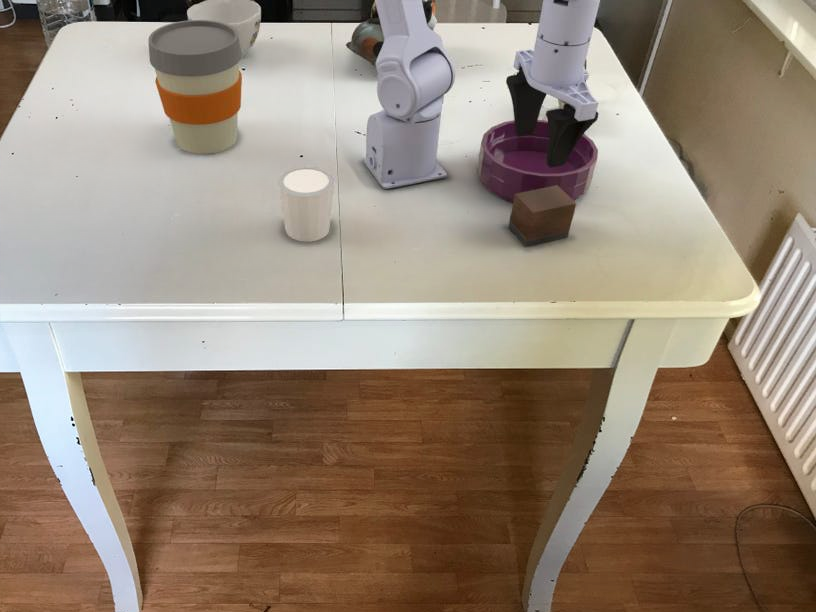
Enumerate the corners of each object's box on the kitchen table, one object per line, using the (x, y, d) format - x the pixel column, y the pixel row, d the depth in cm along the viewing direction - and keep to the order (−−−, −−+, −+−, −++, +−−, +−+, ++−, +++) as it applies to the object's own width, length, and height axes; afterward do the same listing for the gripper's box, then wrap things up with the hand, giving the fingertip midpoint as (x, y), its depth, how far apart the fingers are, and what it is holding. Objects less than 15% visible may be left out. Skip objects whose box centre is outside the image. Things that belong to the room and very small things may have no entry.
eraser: (525, 247, 93) (532, 212, 89) (508, 227, 96) (514, 193, 92) (567, 237, 94) (576, 203, 90) (549, 218, 97) (557, 184, 93)
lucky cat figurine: (360, 43, 137) (400, -32, 129) (414, 80, 137) (457, 7, 129) (333, 49, 124) (376, -33, 117) (393, 90, 124) (439, 10, 117)
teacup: (191, 44, 137) (185, -3, 131) (260, 39, 138) (257, -7, 133) (194, 79, 126) (188, 31, 121) (268, 74, 128) (265, 26, 122)
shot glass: (304, 207, 99) (303, 159, 94) (345, 226, 96) (346, 178, 91) (269, 230, 95) (265, 182, 90) (310, 251, 92) (308, 202, 87)
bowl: (510, 218, 97) (517, 184, 93) (458, 161, 107) (462, 129, 104) (611, 197, 101) (621, 163, 97) (551, 144, 111) (558, 112, 107)
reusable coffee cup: (252, 119, 116) (244, 19, 106) (245, 160, 107) (235, 55, 97) (171, 119, 116) (154, 19, 106) (157, 160, 107) (138, 55, 97)
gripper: (634, 57, 78) (601, 173, 87) (560, 7, 87) (538, 117, 97) (575, 66, 76) (548, 184, 85) (506, 15, 86) (489, 125, 95)
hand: (539, 149), depth 91 cm, fingers open, 7 cm apart
